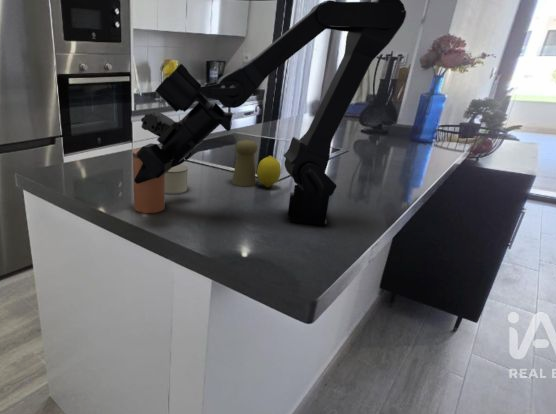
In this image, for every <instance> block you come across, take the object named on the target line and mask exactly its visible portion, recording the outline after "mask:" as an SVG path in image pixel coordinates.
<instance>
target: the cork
mask: <svg viewBox="0 0 556 414" xmlns="http://www.w3.org/2000/svg"><path fill="white" fill-rule="evenodd" d="M235 151H236V154H237V156H236V161H235V165H234V170H233V174H232V180H231V183H232V184H233V185H235V186H238V187H252V186H253V187H254V186H255V185H256V184H257V181H256V178H257V177H256V163H255V162H256V160H255V153H256V152H257V151H258V144H257V142H256V141H254V140H252V139H251V140H250V139H244V140H243V139H242V140H239V141H238V142H237V143H236V145H235Z"/></svg>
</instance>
